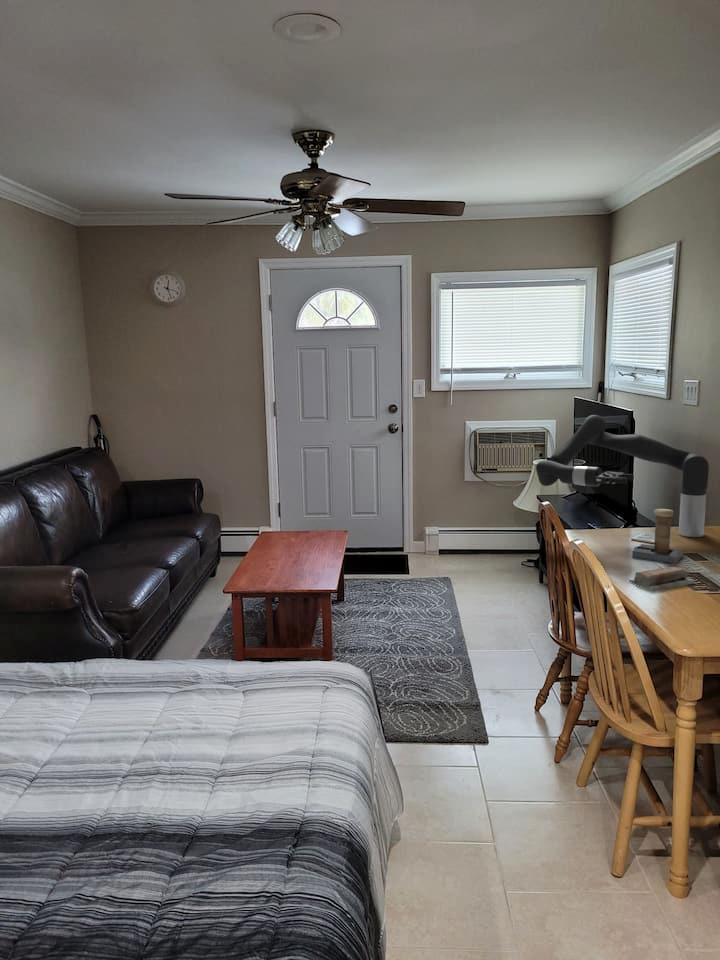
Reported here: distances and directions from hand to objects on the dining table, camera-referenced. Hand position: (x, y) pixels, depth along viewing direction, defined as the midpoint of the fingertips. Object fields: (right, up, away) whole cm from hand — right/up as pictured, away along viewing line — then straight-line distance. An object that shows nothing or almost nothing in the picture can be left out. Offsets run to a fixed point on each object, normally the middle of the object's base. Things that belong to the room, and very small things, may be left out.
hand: (630, 479), depth 254 cm
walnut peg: (+10, -29, -5) cm, 31 cm away
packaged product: (-2, -34, -32) cm, 47 cm away
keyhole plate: (+8, -28, -4) cm, 30 cm away
